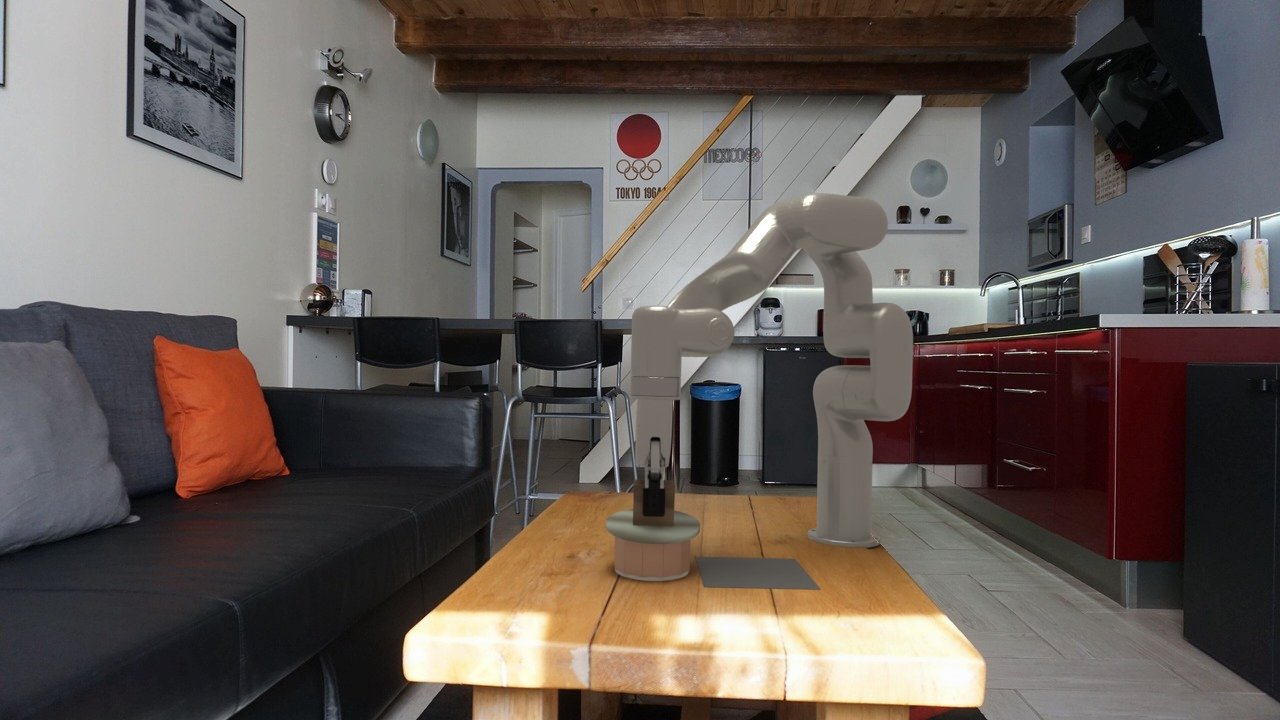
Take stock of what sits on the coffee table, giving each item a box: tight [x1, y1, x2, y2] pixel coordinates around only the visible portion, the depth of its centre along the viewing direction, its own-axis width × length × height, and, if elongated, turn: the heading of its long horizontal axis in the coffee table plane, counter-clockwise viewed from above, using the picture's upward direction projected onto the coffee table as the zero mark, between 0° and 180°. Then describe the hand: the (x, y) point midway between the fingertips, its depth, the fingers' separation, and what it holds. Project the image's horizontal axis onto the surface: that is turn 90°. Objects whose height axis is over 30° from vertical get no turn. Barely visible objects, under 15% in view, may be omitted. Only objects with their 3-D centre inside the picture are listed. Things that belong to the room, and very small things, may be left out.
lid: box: [605, 478, 701, 544], centre depth 105 cm, size 14×14×7 cm
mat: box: [694, 556, 822, 591], centre depth 105 cm, size 16×16×1 cm
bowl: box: [614, 536, 691, 582], centre depth 105 cm, size 11×11×6 cm
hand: (653, 511), depth 105 cm, fingers open, 4 cm apart
